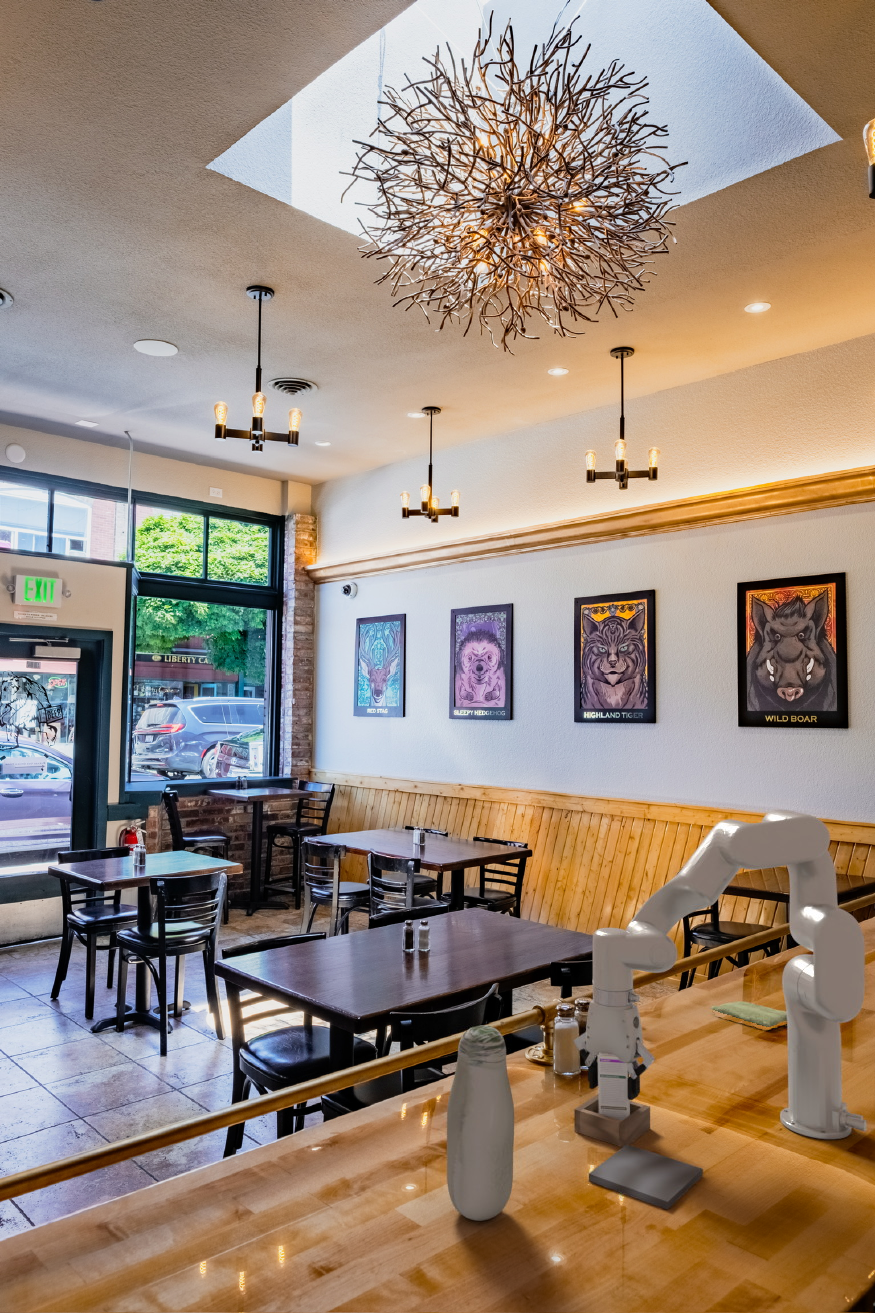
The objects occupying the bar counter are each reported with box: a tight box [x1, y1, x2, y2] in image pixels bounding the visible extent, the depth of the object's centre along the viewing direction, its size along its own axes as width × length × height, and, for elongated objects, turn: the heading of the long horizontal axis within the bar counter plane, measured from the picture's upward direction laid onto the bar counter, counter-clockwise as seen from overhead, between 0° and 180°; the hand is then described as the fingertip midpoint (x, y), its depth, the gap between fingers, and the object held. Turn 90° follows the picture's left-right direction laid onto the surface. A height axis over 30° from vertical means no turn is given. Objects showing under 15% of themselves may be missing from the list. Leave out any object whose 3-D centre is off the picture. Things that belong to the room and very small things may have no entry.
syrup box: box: [597, 1052, 631, 1121], centre depth 170 cm, size 6×6×14 cm
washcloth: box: [710, 1001, 787, 1027], centre depth 236 cm, size 13×18×3 cm
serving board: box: [588, 1144, 704, 1210], centre depth 152 cm, size 14×14×1 cm
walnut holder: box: [573, 1093, 651, 1148], centre depth 170 cm, size 10×10×4 cm
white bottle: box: [446, 1024, 515, 1222], centre depth 141 cm, size 10×10×28 cm
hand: (613, 1091), depth 170 cm, fingers closed on syrup box, 7 cm apart
